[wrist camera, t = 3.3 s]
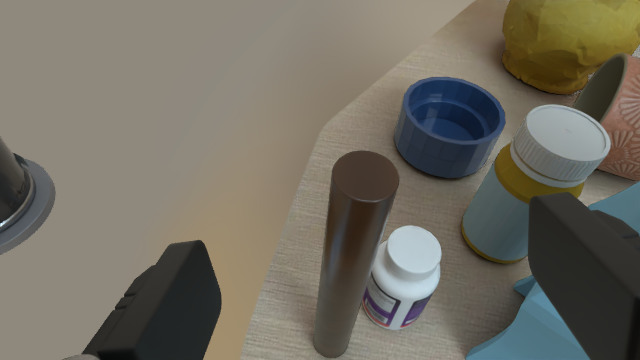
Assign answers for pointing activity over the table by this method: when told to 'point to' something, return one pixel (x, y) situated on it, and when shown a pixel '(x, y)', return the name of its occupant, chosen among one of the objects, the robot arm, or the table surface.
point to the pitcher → (566, 39)
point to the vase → (550, 306)
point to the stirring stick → (351, 243)
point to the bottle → (532, 178)
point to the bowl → (448, 126)
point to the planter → (616, 112)
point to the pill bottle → (402, 277)
